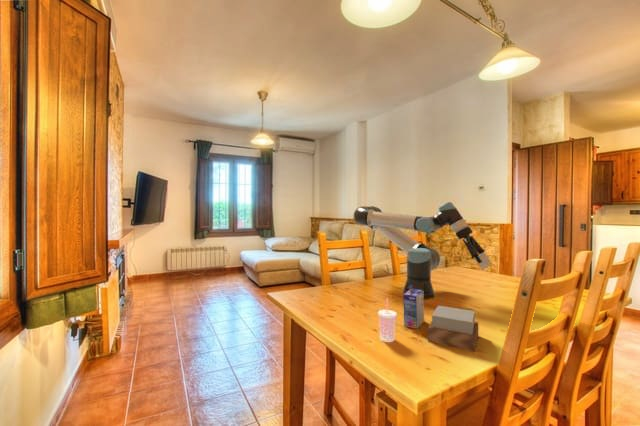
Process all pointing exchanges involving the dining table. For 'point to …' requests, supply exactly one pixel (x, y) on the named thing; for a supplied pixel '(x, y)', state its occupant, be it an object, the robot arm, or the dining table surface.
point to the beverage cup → (387, 324)
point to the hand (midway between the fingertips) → (487, 266)
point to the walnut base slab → (454, 338)
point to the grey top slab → (454, 319)
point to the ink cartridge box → (413, 307)
